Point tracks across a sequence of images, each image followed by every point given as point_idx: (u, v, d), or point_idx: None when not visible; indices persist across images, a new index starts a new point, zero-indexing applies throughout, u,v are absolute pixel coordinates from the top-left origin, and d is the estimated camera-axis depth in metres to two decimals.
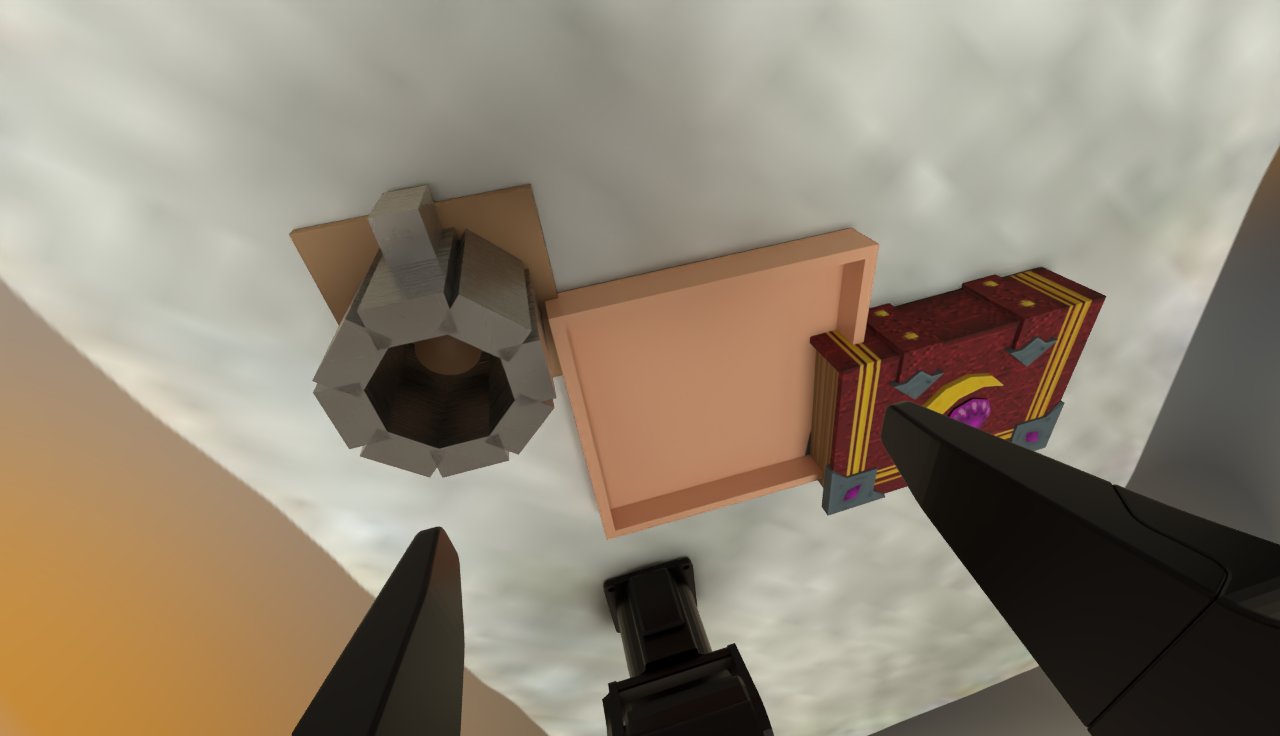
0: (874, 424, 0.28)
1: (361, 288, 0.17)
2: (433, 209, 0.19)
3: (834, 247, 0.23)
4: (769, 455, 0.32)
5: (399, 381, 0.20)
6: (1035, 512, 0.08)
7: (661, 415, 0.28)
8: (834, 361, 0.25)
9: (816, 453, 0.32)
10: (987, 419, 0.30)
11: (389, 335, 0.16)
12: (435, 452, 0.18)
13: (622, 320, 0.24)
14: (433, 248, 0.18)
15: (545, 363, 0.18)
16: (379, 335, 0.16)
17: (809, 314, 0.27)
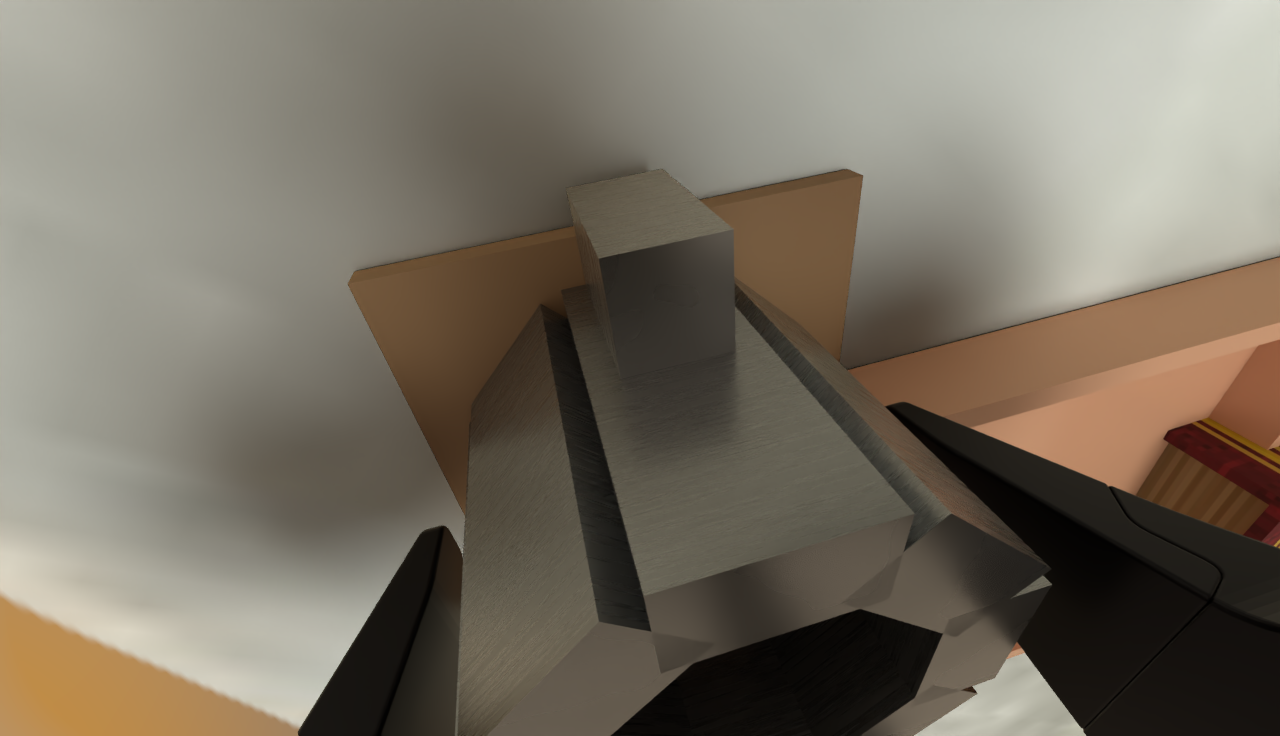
0: None
1: (569, 449, 0.06)
2: None
3: None
4: None
5: None
6: (1031, 513, 0.08)
7: None
8: (1256, 485, 0.15)
9: None
10: None
11: (710, 637, 0.05)
12: None
13: None
14: (732, 328, 0.07)
15: (1023, 624, 0.07)
16: (682, 641, 0.05)
17: (1190, 393, 0.16)
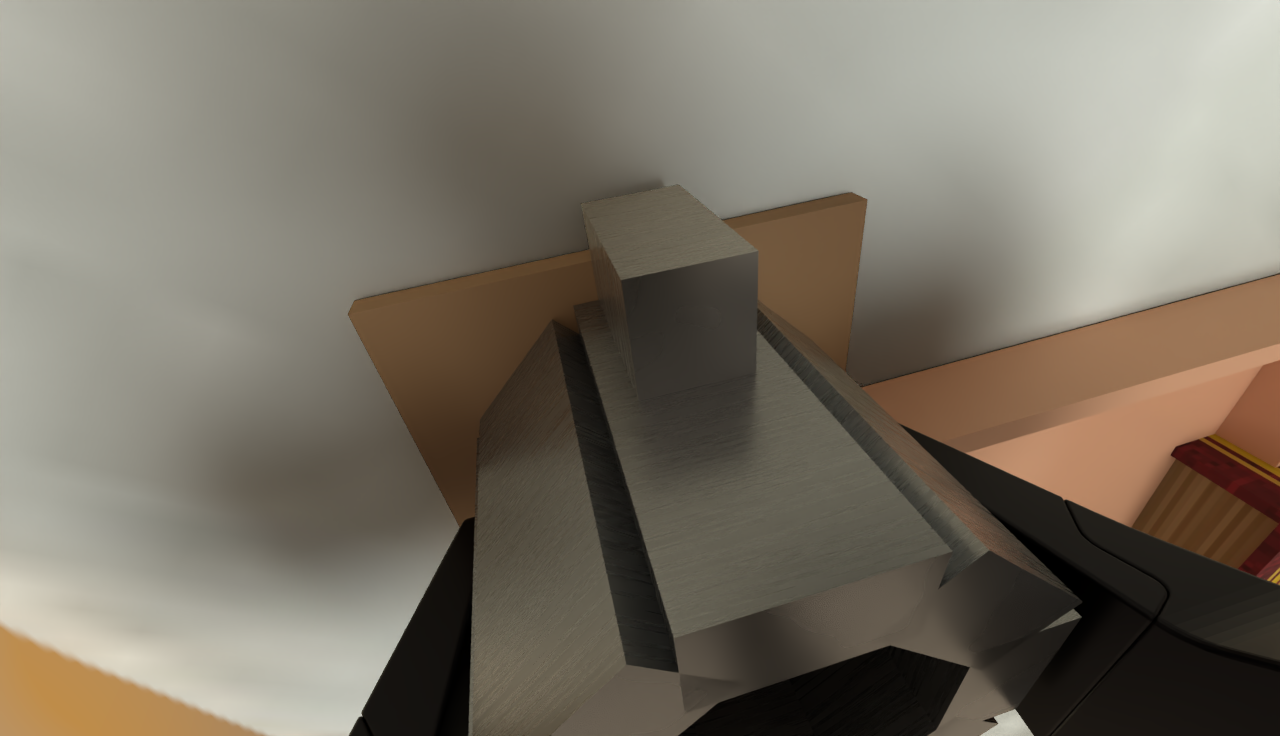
0: None
1: (588, 474, 0.06)
2: None
3: None
4: None
5: None
6: None
7: None
8: (1266, 503, 0.15)
9: None
10: None
11: (737, 676, 0.05)
12: None
13: None
14: None
15: (1049, 655, 0.07)
16: (710, 681, 0.05)
17: (1198, 408, 0.16)
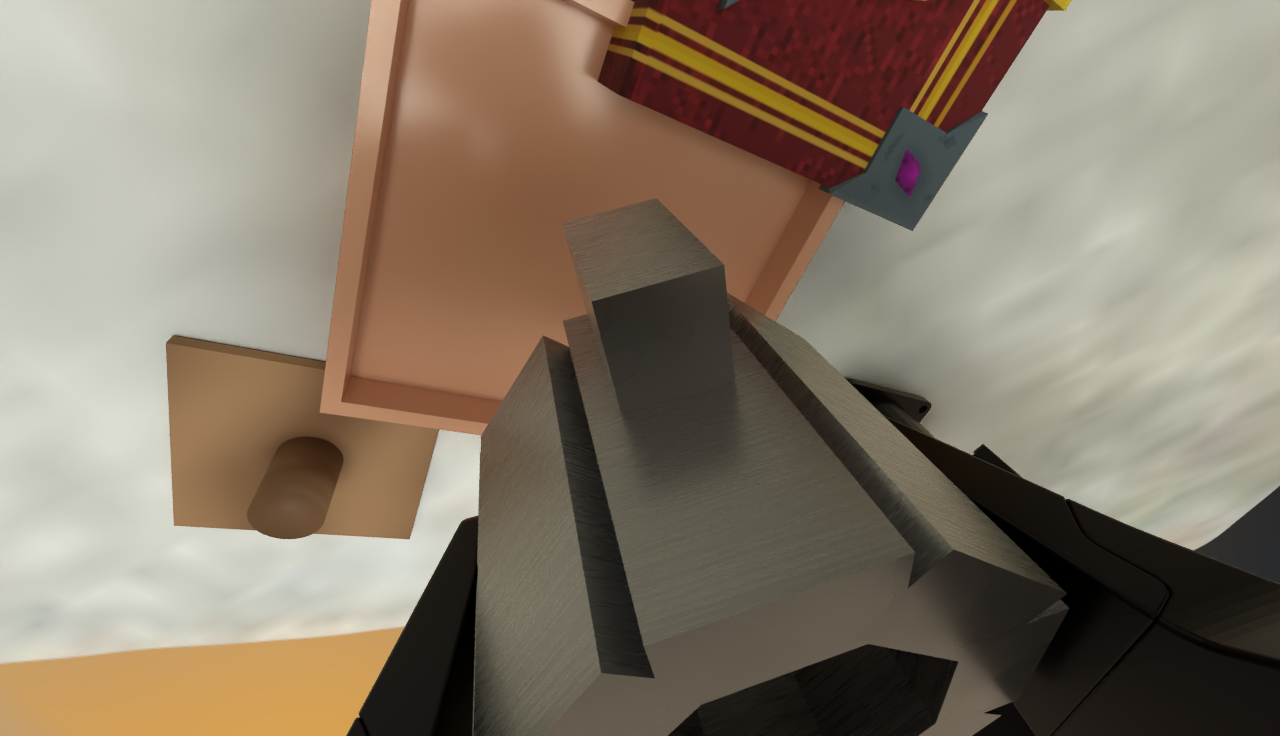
0: (796, 75, 0.14)
1: (572, 489, 0.06)
2: None
3: None
4: (765, 224, 0.20)
5: None
6: None
7: None
8: None
9: None
10: None
11: (715, 679, 0.05)
12: None
13: (396, 322, 0.18)
14: (730, 358, 0.07)
15: (1043, 647, 0.07)
16: (688, 685, 0.05)
17: (533, 58, 0.15)
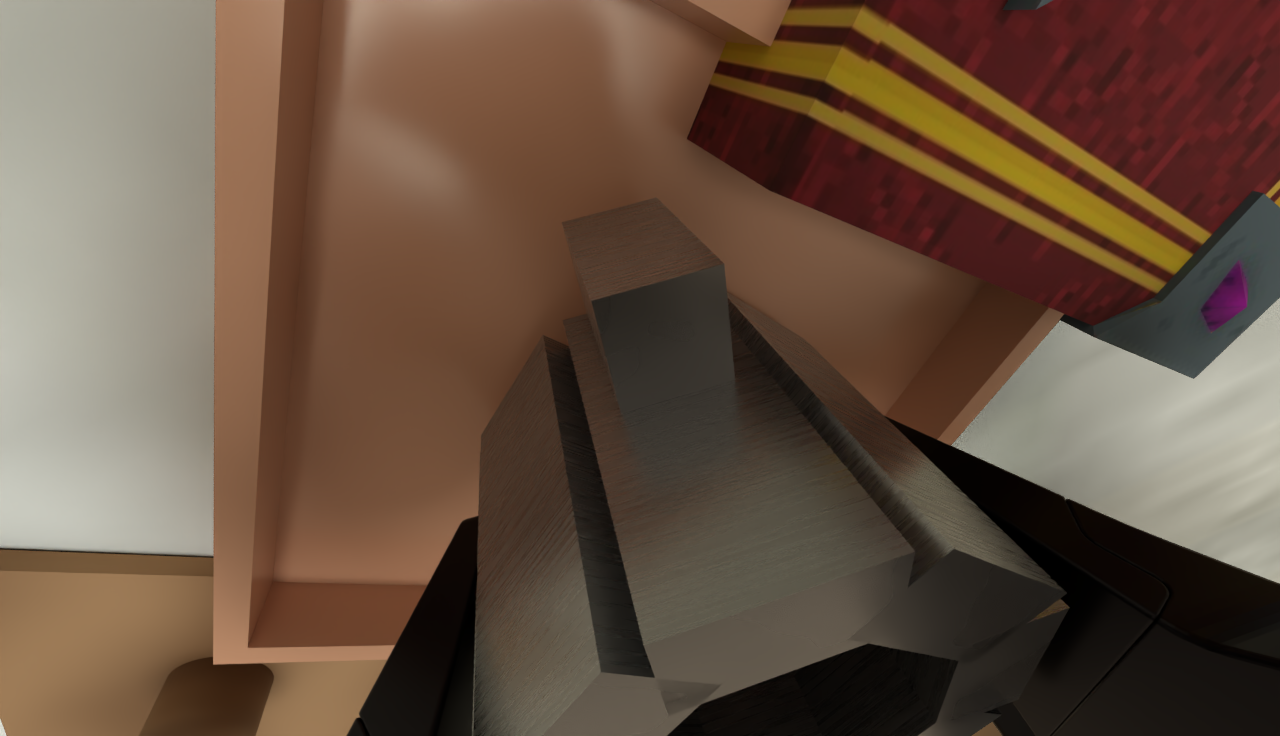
0: (1105, 142, 0.07)
1: (572, 488, 0.06)
2: None
3: None
4: (913, 337, 0.13)
5: None
6: None
7: None
8: (745, 175, 0.07)
9: None
10: None
11: (715, 679, 0.05)
12: None
13: (341, 509, 0.12)
14: (730, 357, 0.07)
15: (1043, 646, 0.07)
16: (688, 685, 0.05)
17: (569, 97, 0.08)
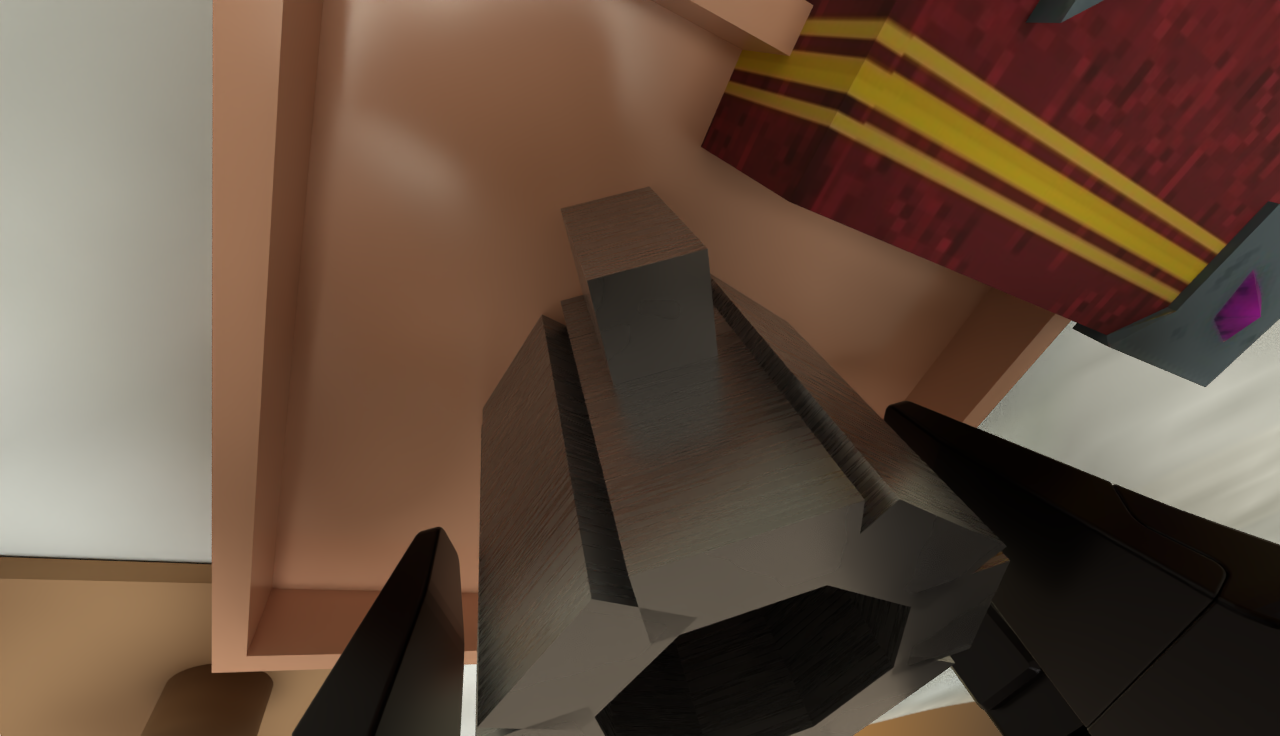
0: (1123, 154, 0.07)
1: (568, 450, 0.07)
2: None
3: None
4: (919, 342, 0.13)
5: None
6: (1035, 512, 0.08)
7: None
8: (763, 184, 0.07)
9: None
10: None
11: (691, 611, 0.06)
12: None
13: (341, 516, 0.11)
14: None
15: (989, 598, 0.07)
16: (667, 616, 0.06)
17: (573, 100, 0.08)
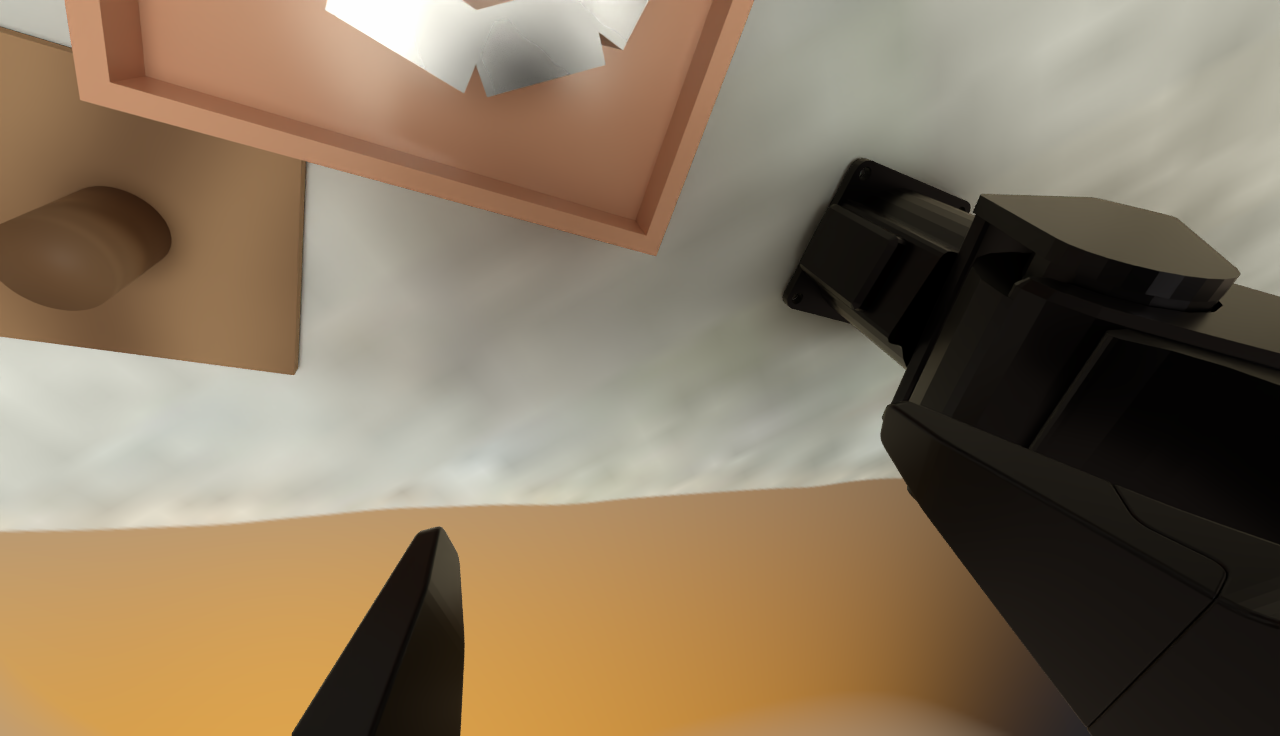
0: None
1: None
2: None
3: None
4: None
5: None
6: (1035, 512, 0.08)
7: None
8: None
9: None
10: None
11: None
12: (471, 20, 0.10)
13: None
14: None
15: None
16: None
17: None
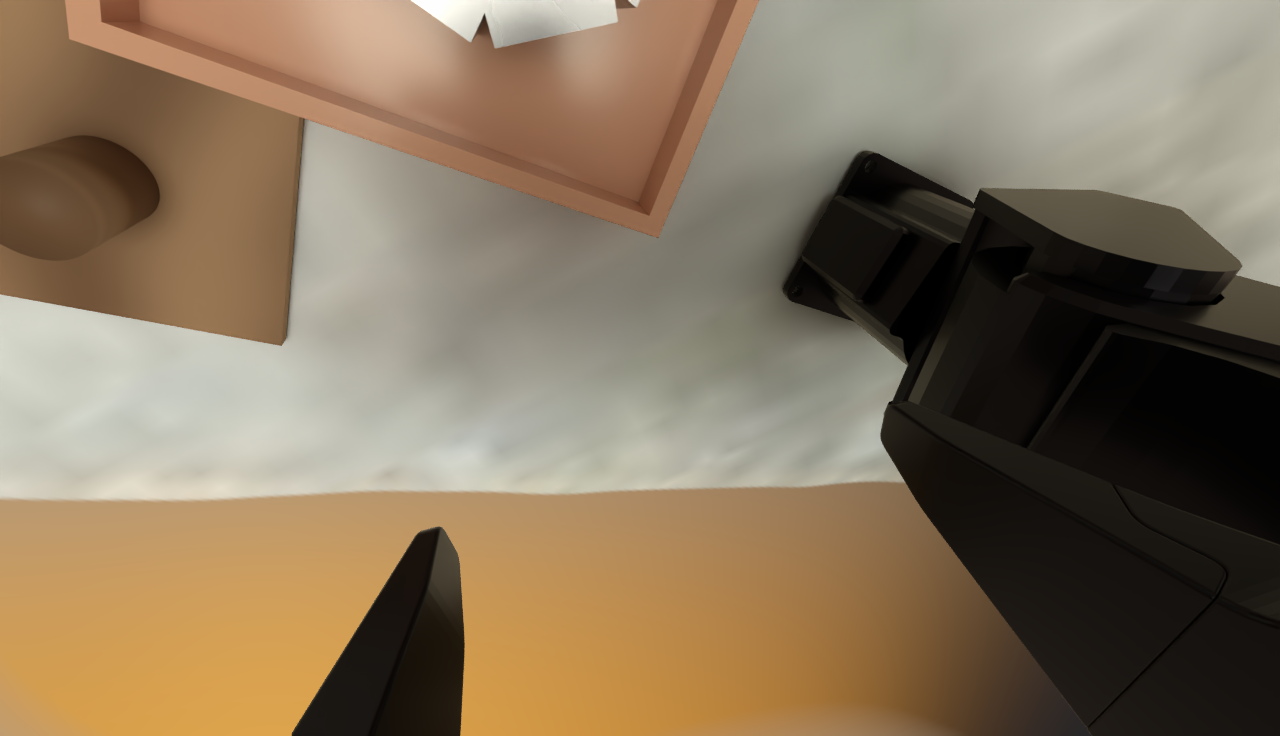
0: None
1: None
2: None
3: None
4: None
5: None
6: (1035, 512, 0.08)
7: None
8: None
9: None
10: None
11: None
12: None
13: None
14: None
15: None
16: None
17: None
